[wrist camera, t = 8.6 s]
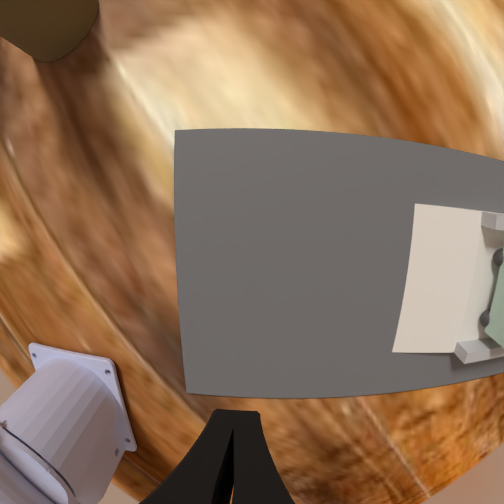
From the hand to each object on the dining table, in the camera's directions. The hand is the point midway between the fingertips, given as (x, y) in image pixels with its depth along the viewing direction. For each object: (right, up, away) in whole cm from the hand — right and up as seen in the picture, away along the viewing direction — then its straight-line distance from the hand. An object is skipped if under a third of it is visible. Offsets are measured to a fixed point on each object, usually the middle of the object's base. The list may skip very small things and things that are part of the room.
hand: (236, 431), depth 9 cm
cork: (-12, +21, +5) cm, 25 cm away
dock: (+10, +4, +8) cm, 14 cm away
